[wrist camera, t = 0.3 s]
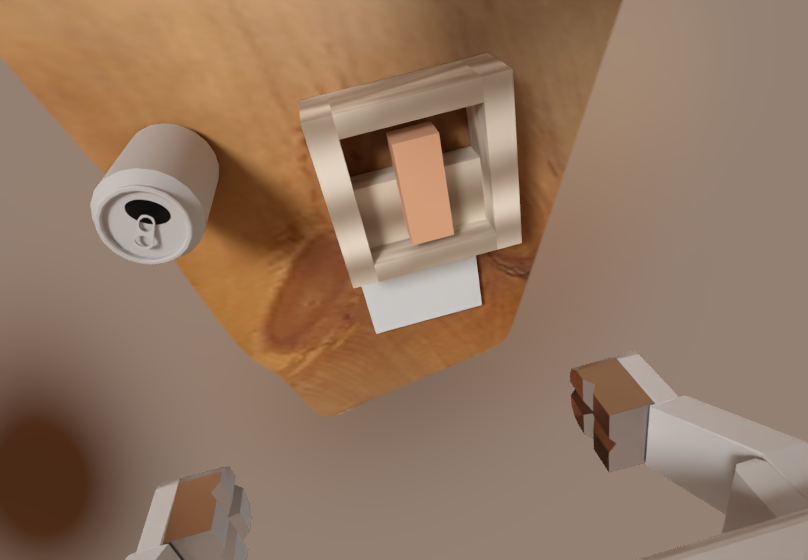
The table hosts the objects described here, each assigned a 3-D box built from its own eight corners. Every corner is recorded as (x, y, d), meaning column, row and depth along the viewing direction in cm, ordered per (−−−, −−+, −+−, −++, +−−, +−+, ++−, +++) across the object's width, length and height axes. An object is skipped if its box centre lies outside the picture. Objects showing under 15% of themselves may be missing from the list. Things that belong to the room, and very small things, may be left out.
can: (227, 135, 43) (210, 195, 34) (213, 209, 47) (193, 282, 37) (132, 107, 41) (84, 164, 31) (124, 188, 44) (79, 262, 35)
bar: (385, 132, 43) (391, 144, 40) (430, 120, 43) (438, 132, 40) (406, 229, 49) (413, 245, 46) (446, 219, 49) (454, 234, 46)
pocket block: (298, 100, 43) (300, 123, 38) (488, 52, 43) (512, 68, 39) (347, 255, 53) (353, 288, 48) (500, 214, 53) (521, 243, 49)
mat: (356, 268, 54) (357, 274, 53) (471, 238, 54) (474, 242, 54) (375, 328, 59) (376, 333, 59) (479, 299, 60) (481, 304, 59)
